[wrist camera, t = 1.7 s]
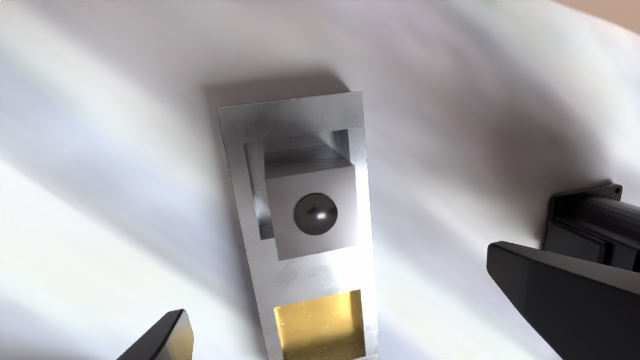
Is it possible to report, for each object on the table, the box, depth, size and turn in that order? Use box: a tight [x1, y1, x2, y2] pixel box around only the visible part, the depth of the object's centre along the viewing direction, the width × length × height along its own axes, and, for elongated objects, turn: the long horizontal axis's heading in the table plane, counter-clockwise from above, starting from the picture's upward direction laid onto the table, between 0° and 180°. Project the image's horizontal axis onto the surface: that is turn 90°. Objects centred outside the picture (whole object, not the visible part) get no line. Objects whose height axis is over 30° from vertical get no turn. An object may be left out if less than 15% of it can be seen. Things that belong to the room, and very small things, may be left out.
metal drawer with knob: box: [264, 144, 361, 261], centre depth 16 cm, size 4×4×6 cm
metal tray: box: [217, 91, 379, 360], centre depth 20 cm, size 8×20×2 cm, turn 6°
